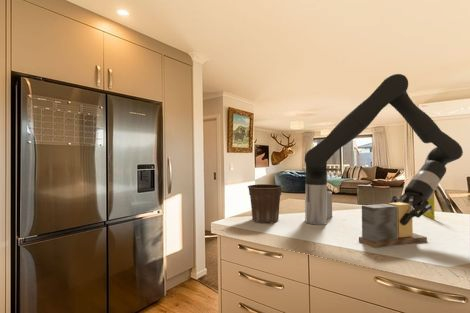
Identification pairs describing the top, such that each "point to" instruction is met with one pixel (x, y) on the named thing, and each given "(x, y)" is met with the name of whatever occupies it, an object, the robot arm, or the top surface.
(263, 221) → the plant pot
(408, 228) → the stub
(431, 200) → the food package
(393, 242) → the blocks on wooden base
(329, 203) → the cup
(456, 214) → the top surface
